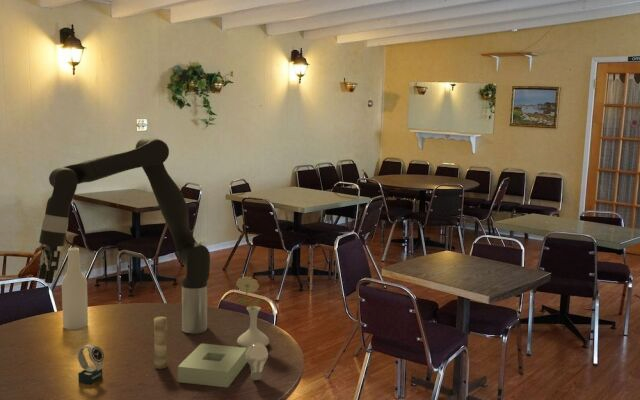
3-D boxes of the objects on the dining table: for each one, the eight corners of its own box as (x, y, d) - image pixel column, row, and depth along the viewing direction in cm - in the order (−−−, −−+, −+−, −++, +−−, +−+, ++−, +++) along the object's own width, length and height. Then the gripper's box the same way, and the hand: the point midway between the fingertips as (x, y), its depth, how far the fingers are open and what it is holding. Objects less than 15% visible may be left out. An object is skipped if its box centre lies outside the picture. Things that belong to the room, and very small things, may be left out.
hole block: (201, 357, 219) (201, 343, 218) (247, 362, 216) (247, 347, 215) (177, 382, 199) (177, 366, 198) (228, 387, 196) (228, 371, 196)
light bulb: (245, 375, 205) (246, 339, 203) (267, 375, 206) (268, 339, 204) (244, 385, 198) (245, 347, 196) (267, 385, 199) (268, 347, 197)
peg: (157, 363, 213) (157, 316, 211) (169, 364, 212) (168, 317, 210) (152, 368, 209) (151, 320, 207) (164, 369, 208) (163, 321, 206)
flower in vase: (274, 343, 233) (276, 275, 230) (258, 354, 223) (260, 283, 220) (243, 337, 239) (244, 270, 235) (226, 347, 229) (227, 278, 225)
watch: (95, 386, 195) (94, 351, 193) (73, 381, 198) (72, 346, 196) (107, 379, 200) (107, 344, 198) (86, 374, 203) (85, 340, 201)
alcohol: (57, 328, 242) (55, 249, 238) (74, 321, 251) (72, 245, 246) (76, 332, 239) (74, 252, 235) (93, 324, 247) (91, 247, 243)
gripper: (72, 233, 203) (63, 285, 202) (60, 229, 214) (51, 278, 213) (47, 230, 198) (37, 283, 197) (36, 226, 210) (27, 276, 209)
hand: (45, 280), depth 205 cm, fingers open, 8 cm apart
